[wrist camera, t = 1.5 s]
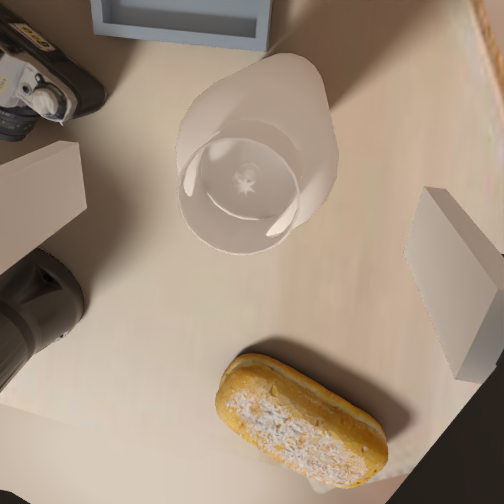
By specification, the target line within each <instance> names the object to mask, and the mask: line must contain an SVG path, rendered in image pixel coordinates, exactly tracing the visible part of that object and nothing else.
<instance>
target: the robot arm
mask: <svg viewBox="0 0 504 504" xmlns="http://www.w3.org/2000/svg"><path fill="white" fill-rule="evenodd" d="M85 209H87V204H86V197H85V189H84V181H83V173H82V165H81V158H80V150H79V143H76V142H69V141H61V140H60V141H57V142H55V143H52V144H50V145H48V146H45V147H43V148H40V149H38V150H36V151H33V152H31V153H28V154H26V155H24V156H21V157H19V158H16V159H14V160H12V161H9V162H7V163H5V164H2V165H0V393H1V391H2V390H3V389H4V388H5V387H6V386H7V384H8V383H9V382H10V381H11V380H12V379H13V377H14V376H15V375H16V374H17V373H18V372H19V370H20V369H21V368H22V367H23V366H24V364H25V363H26V362H27V361H28V360H29V359H30V358H31V357H32V355H34V354H35V353H37V352H39V351H41V350H42V349H44V348H45V347H47V346H48V345H50V344H51V343H52V342H55V341H58V340H60V339H61V338H63V337H65V336H66V335H67V334H68V333H69V332H70V331H71V330H72V329H73V328H74V326H75V325H76V324H77V323H78V322H79V320H80V318H81V316H82V313H83V309H84V301H83V295H82V292H81V289H80V287H79V285H78V283H77V281H76V280H75V278H74V277H73V275H72V274H71V273H70V272H69V271H68V269H67V268H66V267H65V266H64V265H62V264H61V263H60V262H59V261H58V260H56V259H55V258H54V257H52V256H51V255H49V254H47V253H45V252H43V251H41V250H39V249H37V248H36V247H37V246H38V245H40V244H41V243H42V242H44V241H45V240H46V239H48V238H49V237H50V236H52V235H53V234H54V233H55V232H57V231H58V230H59V229H61V228H62V227H63V226H65V225H66V224H67V223H68V222H70V221H71V220H72V219H74V218H75V217H76V216H78V215H79V214H80V213H82V212H83V211H84V210H85ZM403 253H404V255H405V258H406V260H407V263H408V265H409V267H410V270H411V272H412V275H413V277H414V280H415V282H416V285H417V287H418V290H419V292H420V294H421V297H422V299H423V302H424V304H425V307H426V309H427V312H428V314H429V317H430V319H431V321H432V324H433V326H434V329H435V331H436V334H437V336H438V339H439V341H440V344H441V346H442V348H443V351H444V353H445V356H446V358H447V361H448V363H449V366H450V368H451V371H452V373H453V375H454V378H455V379H456V380H462V381H469V382H475V383H481V384H482V385H481V387H480V388H479V389H478V390H477V392H476V393H475V394H474V395H473V396H472V398H471V399H470V400H469V401H468V403H467V404H466V405H465V406H464V408H463V409H462V410H461V411H460V413H459V414H458V415H457V416H456V417H455V419H454V420H453V421H452V422H451V424H450V425H449V426H448V427H447V429H446V430H445V431H444V432H443V433H442V435H441V436H440V437H439V438H438V440H437V441H436V442H435V443H434V445H433V446H432V447H431V448H430V450H429V451H428V452H427V453H426V454H425V456H424V457H423V458H422V459H421V461H420V462H419V463H418V464H417V466H416V467H415V468H414V469H413V471H412V472H411V473H410V474H409V475H408V477H407V478H406V479H405V480H404V482H403V483H402V484H401V485H400V487H399V488H398V489H397V490H396V492H395V493H394V494H393V495H392V496H391V498H390V499H389V500H388V501H387V502H386V503H385V504H504V254H500V252H499V251H498V250H497V249H496V248H495V246H494V245H493V244H492V243H491V242H490V241H489V239H488V238H487V237H486V236H485V235H484V234H483V232H482V231H481V230H480V229H479V228H478V226H477V225H476V224H475V223H474V222H473V221H472V219H471V218H470V217H469V216H468V215H467V213H466V212H465V211H464V210H463V209H462V208H461V206H460V205H459V204H458V203H457V202H456V200H455V199H454V198H453V197H452V196H451V195H450V193H449V192H448V191H447V190H446V189H440V188H432V187H425V186H424V189H423V192H422V195H421V198H420V202H419V205H418V208H417V211H416V214H415V217H414V221H413V224H412V227H411V230H410V233H409V236H408V240H407V243H406V246H405V249H404V252H403ZM496 366H497V367H496ZM0 504H30V503H28V502H27V501H25V500H23V499H22V498H20V497H18V496H16V495H15V494H13V493H12V492H8V491H4V490H0Z"/></svg>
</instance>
